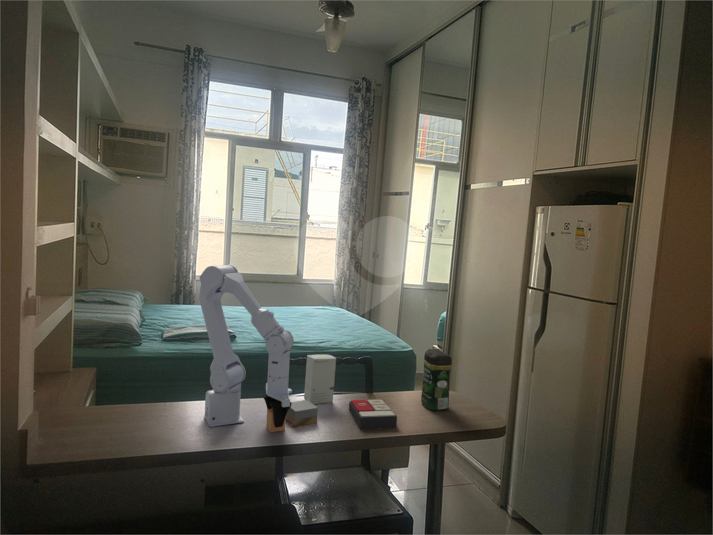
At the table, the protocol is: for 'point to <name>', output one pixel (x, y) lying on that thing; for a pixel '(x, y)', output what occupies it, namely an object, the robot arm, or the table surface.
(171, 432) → the table surface
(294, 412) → the tower top slab
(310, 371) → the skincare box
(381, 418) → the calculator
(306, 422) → the tower base slab
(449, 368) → the coffee jar
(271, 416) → the terracotta block
